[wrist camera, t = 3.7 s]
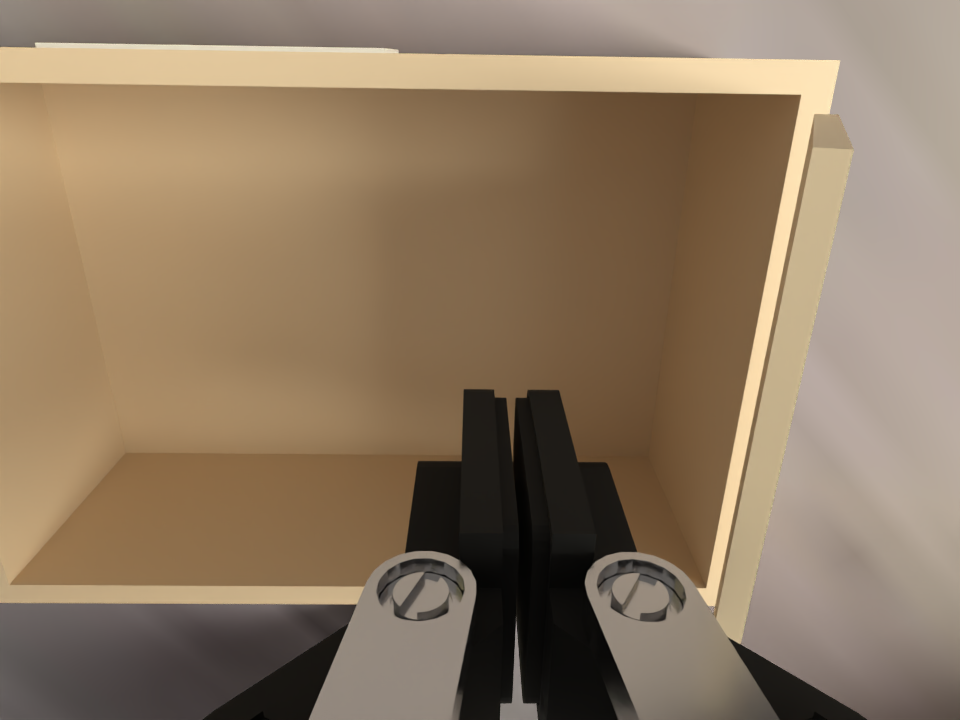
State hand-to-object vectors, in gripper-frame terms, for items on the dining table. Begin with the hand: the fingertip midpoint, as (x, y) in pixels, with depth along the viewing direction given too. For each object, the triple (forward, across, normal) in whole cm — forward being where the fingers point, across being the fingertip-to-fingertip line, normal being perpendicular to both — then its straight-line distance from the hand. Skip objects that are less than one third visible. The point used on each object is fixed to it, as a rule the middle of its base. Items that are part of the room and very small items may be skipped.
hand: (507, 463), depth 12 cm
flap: (0, -4, 0) cm, 4 cm away
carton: (+10, +4, 0) cm, 11 cm away
